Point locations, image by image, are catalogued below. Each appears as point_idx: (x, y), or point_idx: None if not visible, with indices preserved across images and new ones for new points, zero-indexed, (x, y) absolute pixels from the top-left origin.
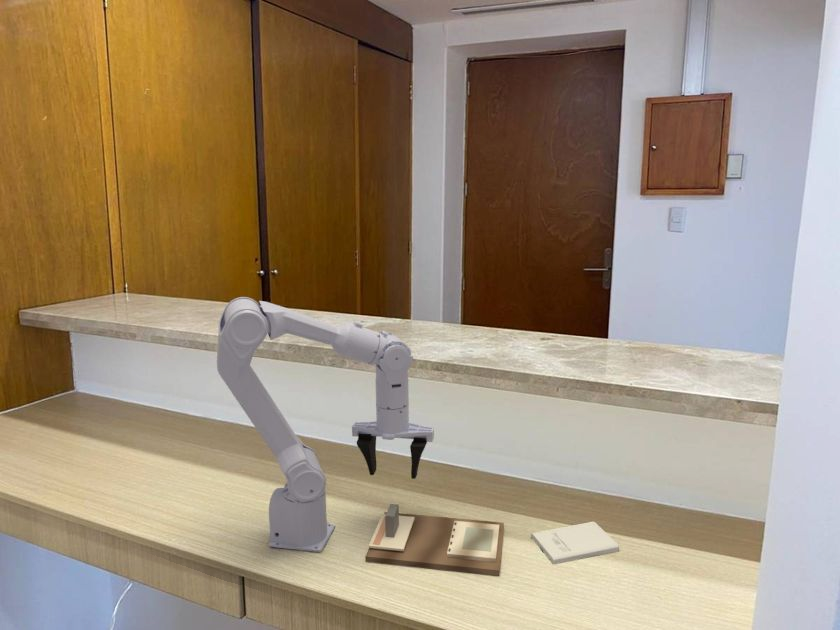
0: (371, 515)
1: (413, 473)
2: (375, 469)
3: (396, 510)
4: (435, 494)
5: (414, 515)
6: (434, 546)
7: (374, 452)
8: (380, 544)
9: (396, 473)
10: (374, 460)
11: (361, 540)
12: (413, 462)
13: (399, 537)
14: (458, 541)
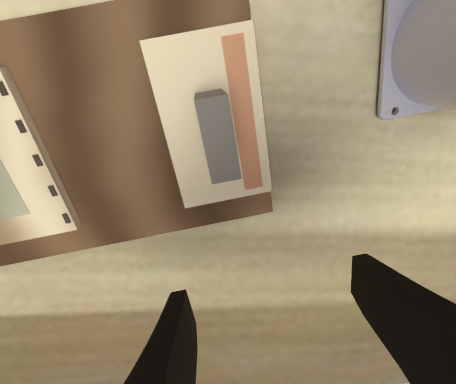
0: (302, 198)
1: (170, 309)
2: (355, 290)
3: (204, 148)
4: (194, 314)
5: (195, 222)
6: (73, 108)
7: (413, 369)
8: (219, 40)
9: (300, 345)
10: (386, 324)
11: (291, 87)
12: (156, 367)
13: (179, 99)
14: (7, 143)
